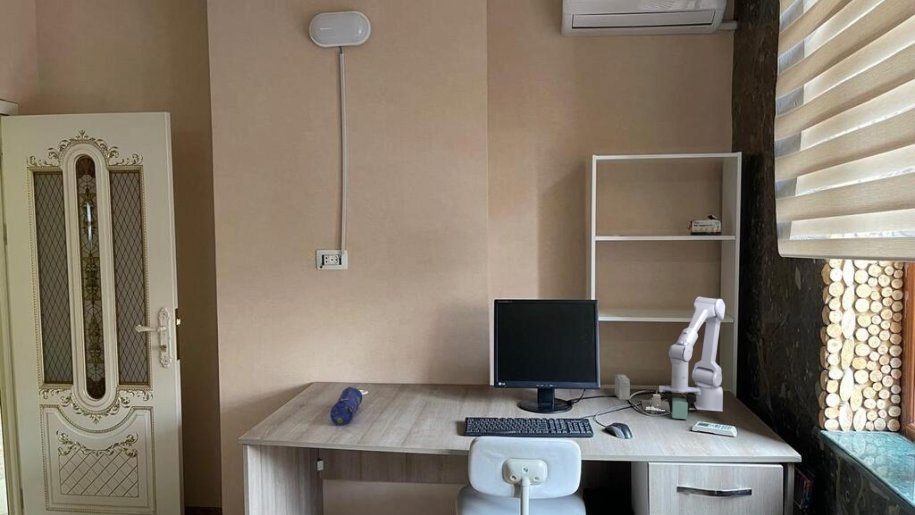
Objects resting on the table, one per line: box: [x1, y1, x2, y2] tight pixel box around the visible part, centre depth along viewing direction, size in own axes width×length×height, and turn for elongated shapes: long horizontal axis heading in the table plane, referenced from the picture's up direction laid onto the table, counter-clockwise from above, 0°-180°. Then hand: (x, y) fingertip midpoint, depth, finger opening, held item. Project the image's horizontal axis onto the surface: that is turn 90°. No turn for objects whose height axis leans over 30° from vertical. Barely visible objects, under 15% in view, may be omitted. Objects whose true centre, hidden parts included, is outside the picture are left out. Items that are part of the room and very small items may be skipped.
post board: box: [640, 393, 670, 411], centre depth 225 cm, size 11×11×5 cm
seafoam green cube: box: [670, 397, 689, 420], centre depth 212 cm, size 5×5×6 cm
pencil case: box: [329, 386, 363, 427], centre depth 216 cm, size 22×9×10 cm, turn 0°
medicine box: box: [614, 374, 631, 401], centre depth 237 cm, size 8×4×9 cm, turn 179°
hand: (679, 411), depth 212 cm, fingers closed on seafoam green cube, 5 cm apart
